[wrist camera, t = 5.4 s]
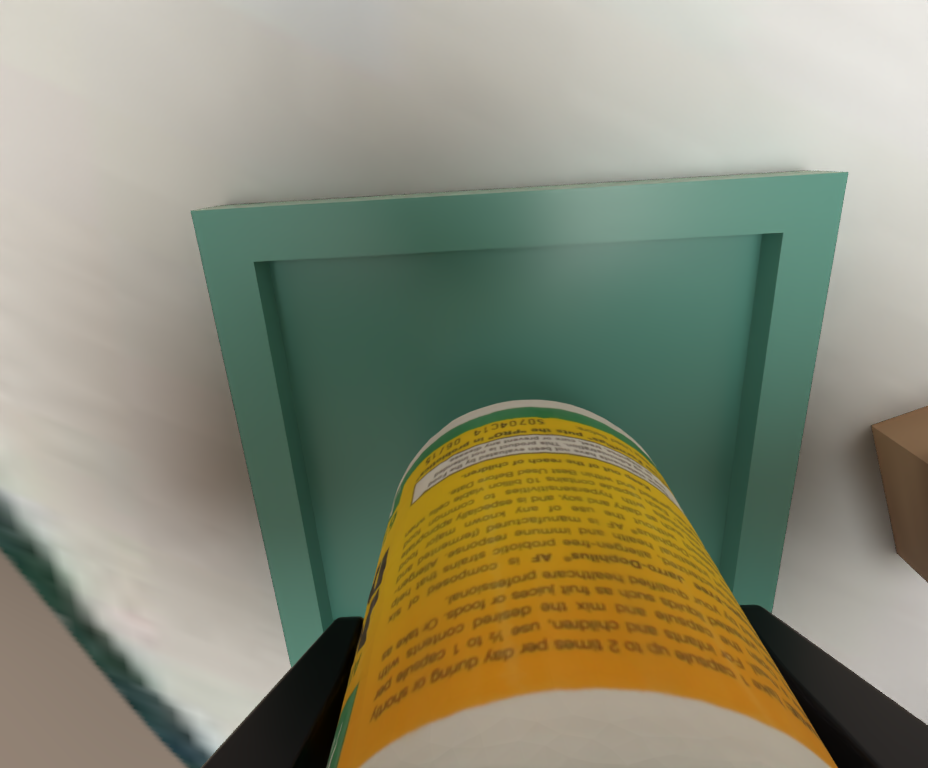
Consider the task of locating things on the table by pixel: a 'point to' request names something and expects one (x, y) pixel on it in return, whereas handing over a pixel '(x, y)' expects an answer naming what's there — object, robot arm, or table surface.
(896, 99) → the table surface
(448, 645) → the supplement bottle
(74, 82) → the table surface
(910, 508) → the walnut cube
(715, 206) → the tray
